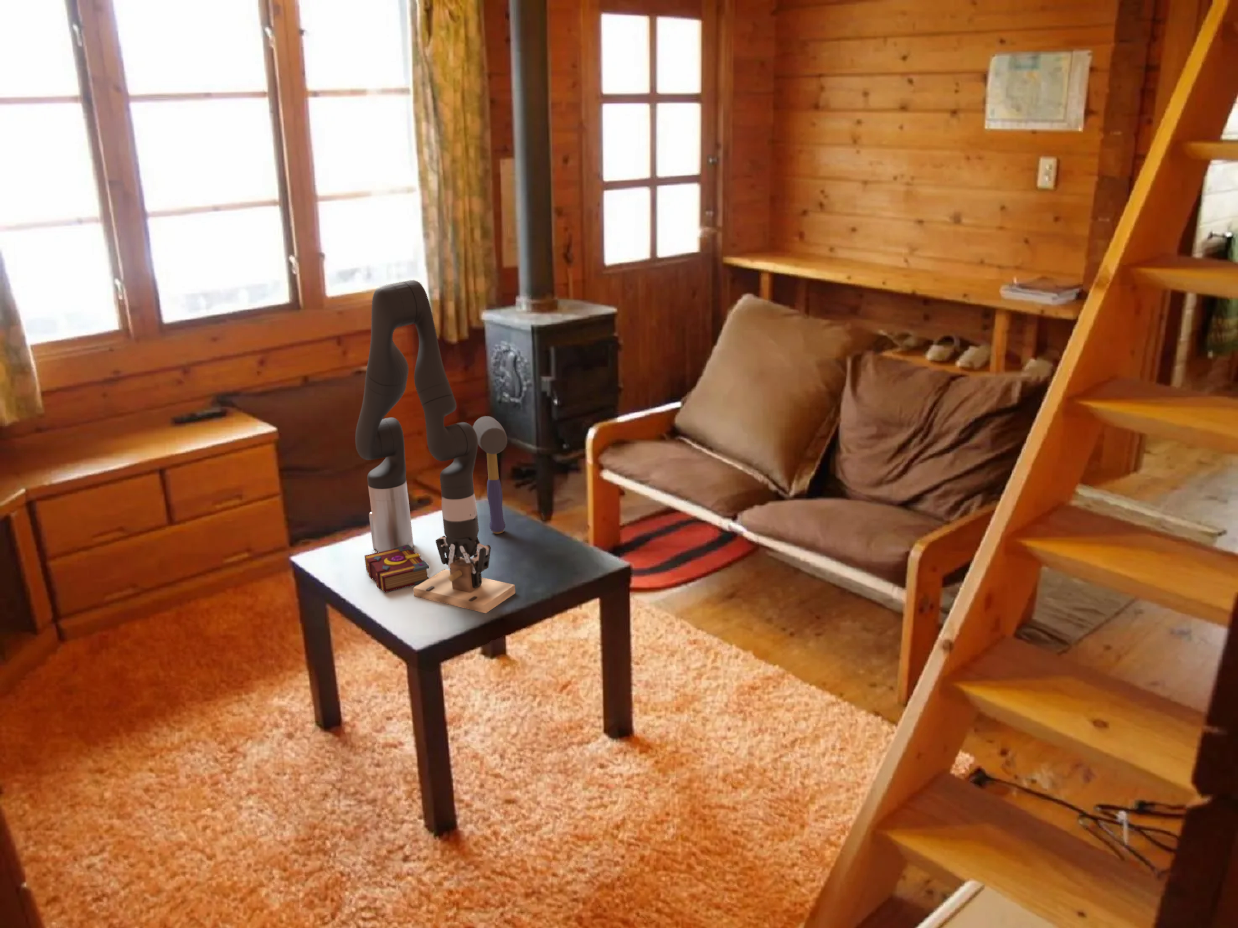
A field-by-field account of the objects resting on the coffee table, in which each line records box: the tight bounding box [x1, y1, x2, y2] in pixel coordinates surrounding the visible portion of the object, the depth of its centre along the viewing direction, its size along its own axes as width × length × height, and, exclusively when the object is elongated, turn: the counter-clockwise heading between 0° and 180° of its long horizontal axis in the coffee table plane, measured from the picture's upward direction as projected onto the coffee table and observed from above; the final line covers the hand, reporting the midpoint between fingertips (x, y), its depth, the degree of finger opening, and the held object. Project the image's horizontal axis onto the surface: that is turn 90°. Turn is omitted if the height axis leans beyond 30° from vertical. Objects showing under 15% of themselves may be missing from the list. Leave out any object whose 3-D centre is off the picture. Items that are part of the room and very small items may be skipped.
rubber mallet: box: [472, 415, 508, 534], centre depth 264 cm, size 12×8×30 cm, turn 17°
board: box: [412, 568, 516, 614], centre depth 234 cm, size 20×11×2 cm, turn 60°
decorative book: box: [364, 544, 430, 593], centre depth 245 cm, size 11×16×5 cm
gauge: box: [448, 557, 481, 592], centre depth 232 cm, size 5×10×6 cm, turn 150°
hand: (466, 584), depth 233 cm, fingers closed on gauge, 5 cm apart
